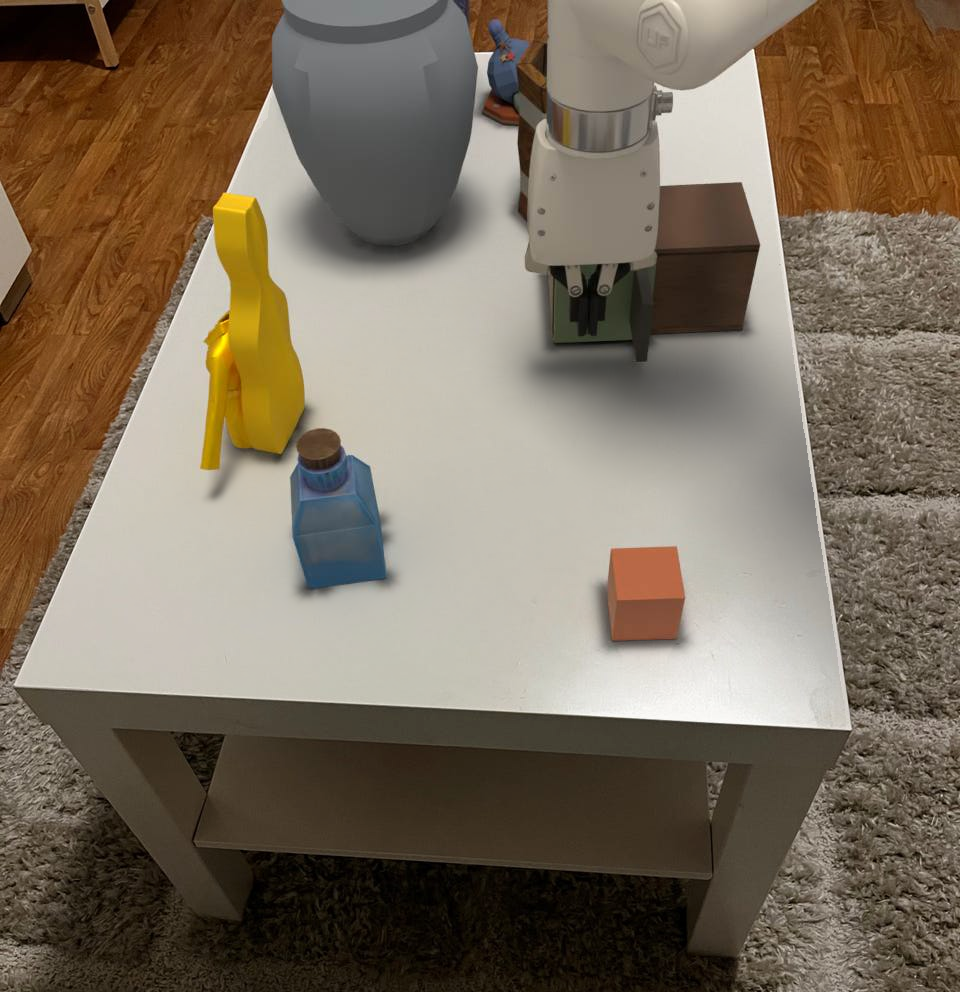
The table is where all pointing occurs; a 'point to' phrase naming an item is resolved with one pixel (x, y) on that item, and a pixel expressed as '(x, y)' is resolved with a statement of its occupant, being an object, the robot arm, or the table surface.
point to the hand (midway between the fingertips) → (586, 325)
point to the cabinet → (700, 259)
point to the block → (645, 593)
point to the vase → (377, 107)
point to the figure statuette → (250, 342)
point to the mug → (530, 108)
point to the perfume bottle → (334, 514)
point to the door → (613, 312)
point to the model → (503, 76)
